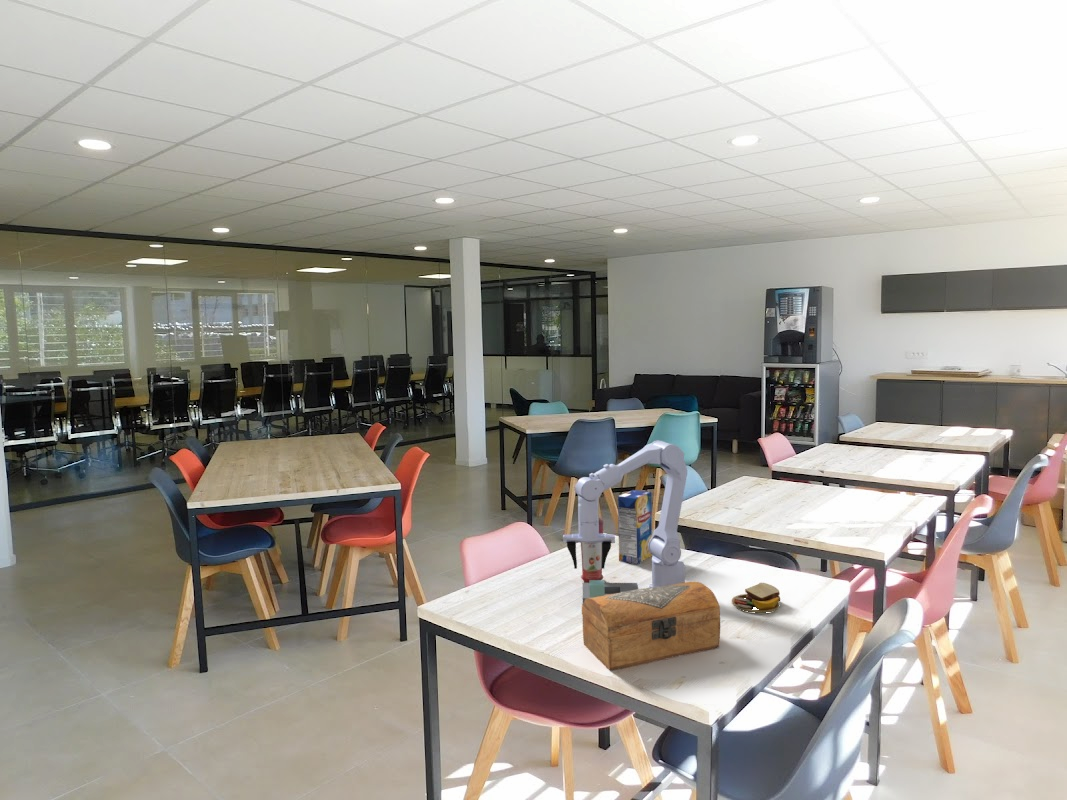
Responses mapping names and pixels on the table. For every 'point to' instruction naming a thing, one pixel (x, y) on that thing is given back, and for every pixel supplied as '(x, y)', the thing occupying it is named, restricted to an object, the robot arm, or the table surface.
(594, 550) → the liquor
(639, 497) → the beverage box
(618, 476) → the robot arm
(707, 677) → the table surface
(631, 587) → the pocket board
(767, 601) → the toy sandwich meal
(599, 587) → the teal block
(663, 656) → the wooden box
